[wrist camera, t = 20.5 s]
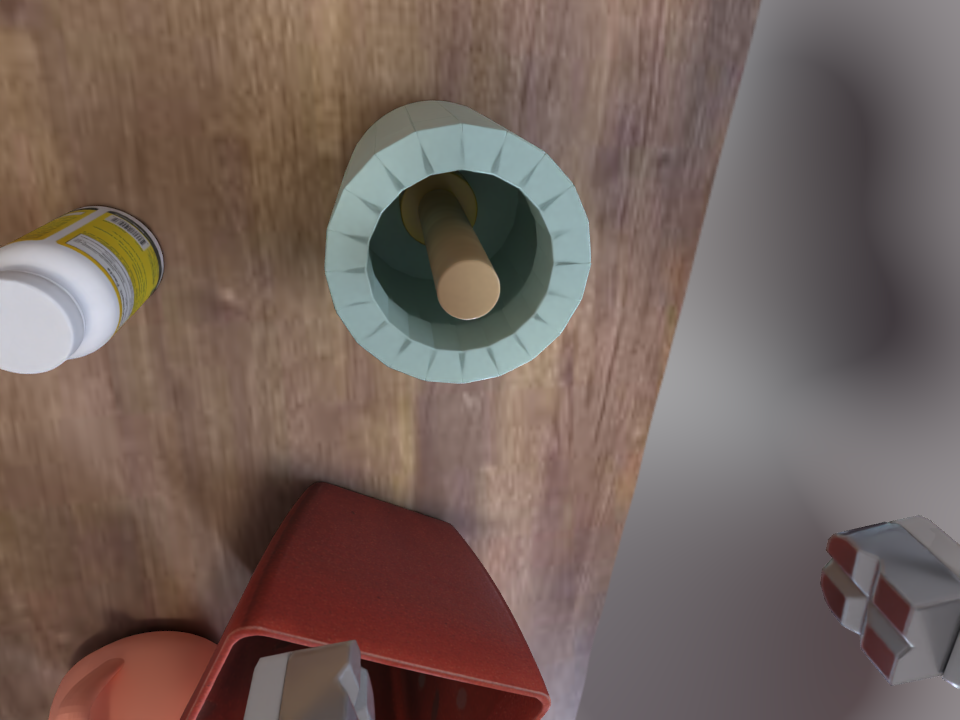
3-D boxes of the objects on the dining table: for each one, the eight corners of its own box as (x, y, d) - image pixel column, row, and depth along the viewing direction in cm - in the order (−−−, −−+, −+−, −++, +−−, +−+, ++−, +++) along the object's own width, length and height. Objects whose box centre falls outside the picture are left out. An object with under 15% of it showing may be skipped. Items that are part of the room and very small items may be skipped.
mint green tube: (512, 85, 35) (583, 102, 23) (531, 265, 40) (597, 357, 28) (323, 117, 34) (290, 152, 22) (368, 295, 40) (361, 404, 27)
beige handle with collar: (460, 152, 35) (512, 218, 21) (478, 223, 37) (537, 325, 23) (389, 173, 35) (393, 252, 21) (411, 243, 37) (429, 357, 23)
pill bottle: (56, 292, 36) (-62, 378, 27) (52, 193, 34) (-81, 248, 24) (166, 310, 38) (91, 398, 28) (169, 216, 35) (89, 277, 26)
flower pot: (201, 605, 50) (124, 838, 35) (285, 430, 43) (233, 625, 28) (407, 652, 56) (416, 866, 41) (507, 506, 50) (560, 698, 35)
